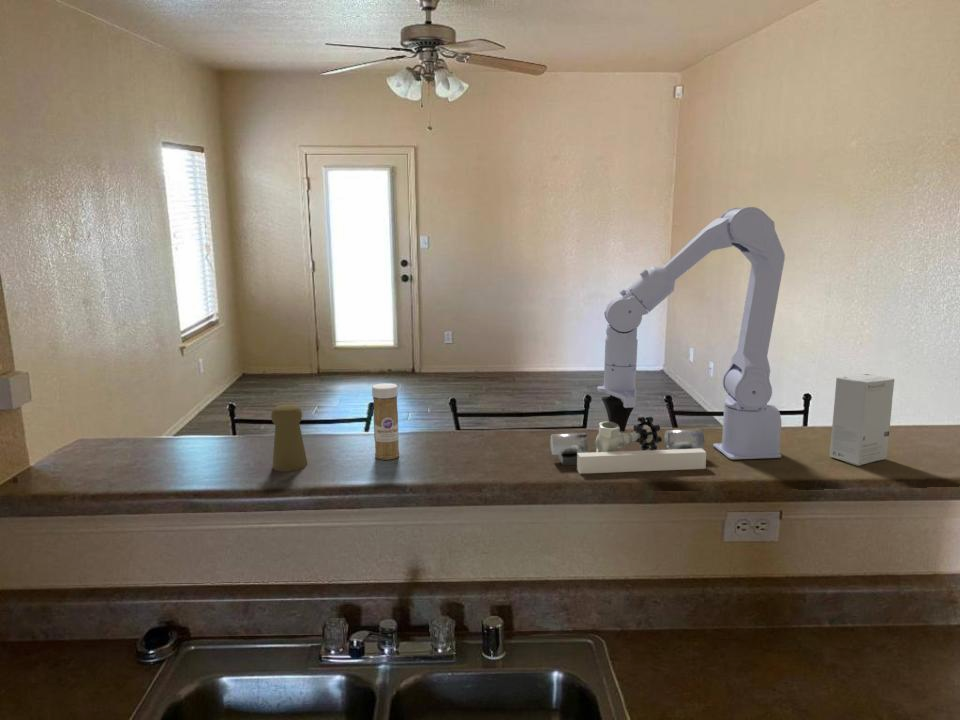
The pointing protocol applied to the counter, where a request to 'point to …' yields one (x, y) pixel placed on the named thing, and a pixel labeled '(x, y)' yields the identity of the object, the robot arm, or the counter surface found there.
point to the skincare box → (861, 418)
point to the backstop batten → (641, 460)
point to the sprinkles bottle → (385, 421)
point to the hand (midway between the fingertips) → (617, 435)
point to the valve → (626, 436)
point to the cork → (288, 439)
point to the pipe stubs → (578, 443)
